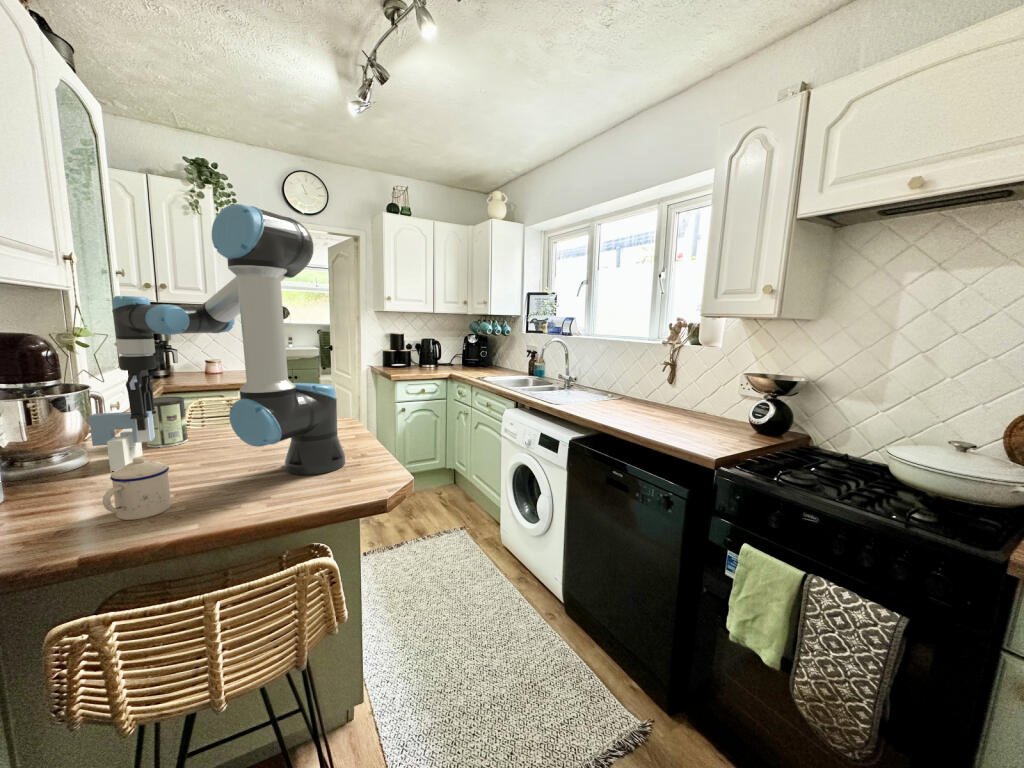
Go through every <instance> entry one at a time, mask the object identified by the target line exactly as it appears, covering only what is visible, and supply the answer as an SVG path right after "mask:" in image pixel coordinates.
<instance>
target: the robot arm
mask: <svg viewBox="0 0 1024 768" xmlns="http://www.w3.org/2000/svg"><path fill="white" fill-rule="evenodd" d="M211 240H212V244H213V245H212V246H213V247H214V248H215V249H216V252H218V254H220V255H221V256H222V257H224V258H226V259H227V268H228V270H229V271H231V272H232V274H234V275H235V277H233V279H231V280H230V281H229V282H228V283H226V285H224V286H223V287H222V288H220V289H219V290H218V291H217V292H216V293H214V294H213V295H212V296H211V297H209V298H208V300H206V301H205V302H204V303H202V304H201V305H177V304H176V305H175V304H165V303H162V304H160V303H159V304H151V301H150V298H148V297H145V296H132V295H128V296H127V295H125V296H124V295H116V296H114V297H113V298H112V300H111V301H112V310H111V313H112V316H113V324H114V325H113V326H114V331H115V337H116V342H114V346H115V347H117V354H119V357H118V366H119V370H121V371H124V372H125V371H126V372H127V371H129V376H128V378H127V381H126V382H125V388H126V390H127V396H128V397H127V398H128V402H129V409H130V410H129V412H131V417H130V419H135V426H136V435H137V442H141V443H147V442H146V441H151V436H150V427H149V418H148V417H147V411H152V419H153V414H156V411H153V410H154V409H155V408H154V398H155V396H154V388H153V383H154V381H153V379H154V377H153V375H150V373H149V371H150V370H154V369H156V368H157V357H156V356H155V355H154V354H155V353H156V348H155V347H156V346H155V345H156V344H155V339H154V334H156V335H157V334H158V335H164V336H168V335H169V336H172V335H173V336H174V335H181V334H220V333H228V332H230V331H231V330H232V329H233V328H234V327H233V326H234V325H235V318H236V317H237V316H239V315H240V323H241V336H242V337H241V338H242V344H243V356H244V358H243V359H244V367H245V377H246V378H245V380H246V382H245V384H243V385H242V386H241V387H240V388H239V398H240V399H238V400H237V401H235V402H234V403H233V404H232V405H231V407H230V409H229V413H228V414H229V415H228V417H229V422H230V425H231V428H232V430H233V432H234V433H235V435H236V436H237V437H238V438H239V439H240V440H241V441H242V442H243V443H245V444H247V445H249V446H250V447H257V448H258V447H265V446H268V445H276V444H278V443H280V442H282V441H285V440H288V439H290V442H289V447H288V449H287V453H286V456H285V460H284V468H285V471H286V472H287V473H289V474H293V475H297V476H299V475H301V476H307V475H308V476H310V475H311V476H313V475H321V474H326V473H331V472H333V471H336V470H338V469H340V468H342V467H343V466H345V465H346V455H345V454H346V453H345V452H344V449H343V446H342V444H341V442H340V439H339V436H338V408H337V407H338V405H337V401H338V399H337V393H336V392H337V391H336V388H335V387H334V386H333V385H332V384H325V383H314V382H313V383H312V382H311V383H310V382H309V383H308V382H294V383H293V382H292V381H290V379H289V378H288V377H289V373H288V362H287V361H288V360H287V349H286V337H285V323H284V321H285V320H284V311H283V310H284V308H283V295H282V284H281V283H282V281H283V280H285V279H286V278H288V279H292V278H294V277H296V276H297V275H298V274H300V273H301V272H302V271H303V270H304V269H306V267H307V266H308V264H309V263H310V262H311V260H312V258H313V254H314V250H315V249H314V246H315V245H314V242H313V237H312V235H311V233H310V232H309V230H308V229H307V228H306V227H305V225H303V224H302V223H301V222H300V221H297V220H296V219H294V218H292V217H287V216H283V215H281V214H277V213H274V212H271V211H267V210H264V209H260V208H258V207H256V206H251V205H245V204H239V203H234V204H233V203H232V204H230V205H227V206H224V208H222V209H221V210H220V211H219V213H218V215H216V216H215V218H214V221H213V223H212V226H211ZM153 430H154V424H153ZM154 437H155V433H154Z"/></svg>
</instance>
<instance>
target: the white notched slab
mask: <svg viewBox="0 0 1024 768" xmlns="http://www.w3.org/2000/svg"><path fill="white" fill-rule="evenodd" d="M119 435H120V436H115V437H113V438H112V439H110V440H109V441H108V442H107V445H106V446H107V453H108V462H109V469H110V470H109V471H110V472H111V473H113V472H112V471H115V470H117V469H119V468H122V467H124V466H126V465H127V464H129V463H132V462H133V458H135V457H140V456H143V454H144V453H143V444H142V442H138V443H133V433H132V429H122V431H121V432H120V433H119Z"/></svg>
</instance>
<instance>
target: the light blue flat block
mask: <svg viewBox="0 0 1024 768" xmlns="http://www.w3.org/2000/svg"><path fill="white" fill-rule="evenodd" d="M130 417H131V411H124V412H107V413H104V412H102V413H93V414H92V415H89V416H88V418H89V429H90V435H91V444H92V445H91V446H92V447H99V446H107V442H108V441H109V440H110V439H112V438H113V437H116V430H125V429H132V433H133V443H138V442H137V435H136V426H135V419H130ZM147 417H148V418H149V427H150V436H151V441H152V440H153V439H154V430H153V419H152V411H147ZM151 441H146V442H145V443H147V442H151Z"/></svg>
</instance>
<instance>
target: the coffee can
mask: <svg viewBox="0 0 1024 768" xmlns="http://www.w3.org/2000/svg"><path fill="white" fill-rule="evenodd" d="M154 408H155V409H154V410H153V411H156V414H153V424H154V433H155V437H154V439H153V440H152V441H151V442H146V446H147V447H148V448H158V447H160V448H169V447H168V446H170V447H175V445H176V446H180V445H183V444H186V443H187V442H189V437H188V429H187V426H188V425H187V419H186V409H185V397H182V396H161V397H160V396H159V397H154ZM179 444H180V445H179Z"/></svg>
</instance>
